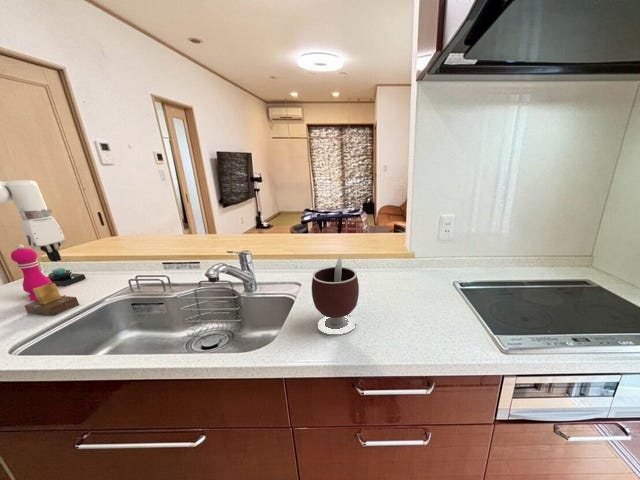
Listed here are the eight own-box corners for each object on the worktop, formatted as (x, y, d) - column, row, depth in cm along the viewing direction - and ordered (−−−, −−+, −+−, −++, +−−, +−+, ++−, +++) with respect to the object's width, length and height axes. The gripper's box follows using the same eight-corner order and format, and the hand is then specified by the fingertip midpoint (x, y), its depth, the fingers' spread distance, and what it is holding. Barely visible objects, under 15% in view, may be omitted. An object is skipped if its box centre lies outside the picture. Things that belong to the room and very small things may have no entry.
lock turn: (44, 304, 96) (36, 288, 94) (39, 304, 96) (32, 288, 94) (61, 297, 101) (54, 282, 99) (56, 297, 101) (50, 282, 99)
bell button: (51, 275, 118) (49, 270, 117) (61, 271, 121) (59, 267, 121) (58, 275, 118) (57, 271, 117) (68, 272, 121) (67, 268, 120)
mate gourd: (354, 339, 85) (354, 275, 77) (308, 335, 86) (303, 272, 79) (362, 313, 99) (362, 256, 92) (322, 310, 101) (319, 254, 93)
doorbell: (39, 284, 118) (35, 275, 116) (61, 277, 125) (58, 268, 124) (65, 286, 116) (61, 277, 115) (86, 279, 124) (82, 270, 122)
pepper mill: (24, 299, 106) (-2, 245, 98) (50, 291, 112) (27, 240, 105) (35, 302, 104) (9, 248, 96) (61, 294, 110) (38, 242, 102)
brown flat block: (25, 314, 96) (21, 305, 95) (56, 301, 105) (53, 293, 103) (51, 317, 95) (47, 308, 94) (81, 303, 103) (77, 295, 102)
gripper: (49, 210, 118) (68, 254, 125) (1, 218, 104) (25, 266, 111) (65, 211, 117) (83, 255, 124) (19, 219, 103) (42, 267, 110)
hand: (56, 260), depth 118 cm, fingers closed
